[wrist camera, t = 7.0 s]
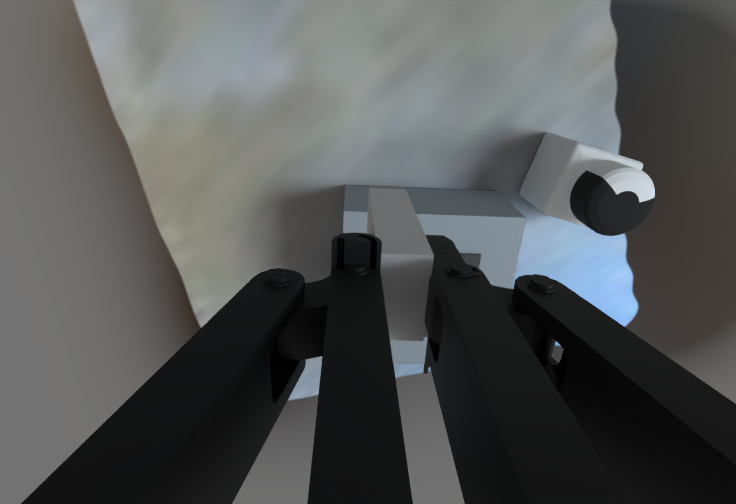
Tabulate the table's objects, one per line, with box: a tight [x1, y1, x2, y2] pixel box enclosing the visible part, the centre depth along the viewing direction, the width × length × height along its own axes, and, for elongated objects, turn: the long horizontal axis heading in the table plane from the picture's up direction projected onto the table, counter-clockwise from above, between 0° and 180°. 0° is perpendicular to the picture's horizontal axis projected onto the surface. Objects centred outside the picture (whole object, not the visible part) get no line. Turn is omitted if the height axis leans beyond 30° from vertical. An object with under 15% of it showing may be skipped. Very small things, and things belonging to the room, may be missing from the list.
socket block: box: [343, 185, 526, 364], centre depth 49 cm, size 18×18×10 cm
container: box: [519, 133, 655, 236], centre depth 44 cm, size 8×8×13 cm
